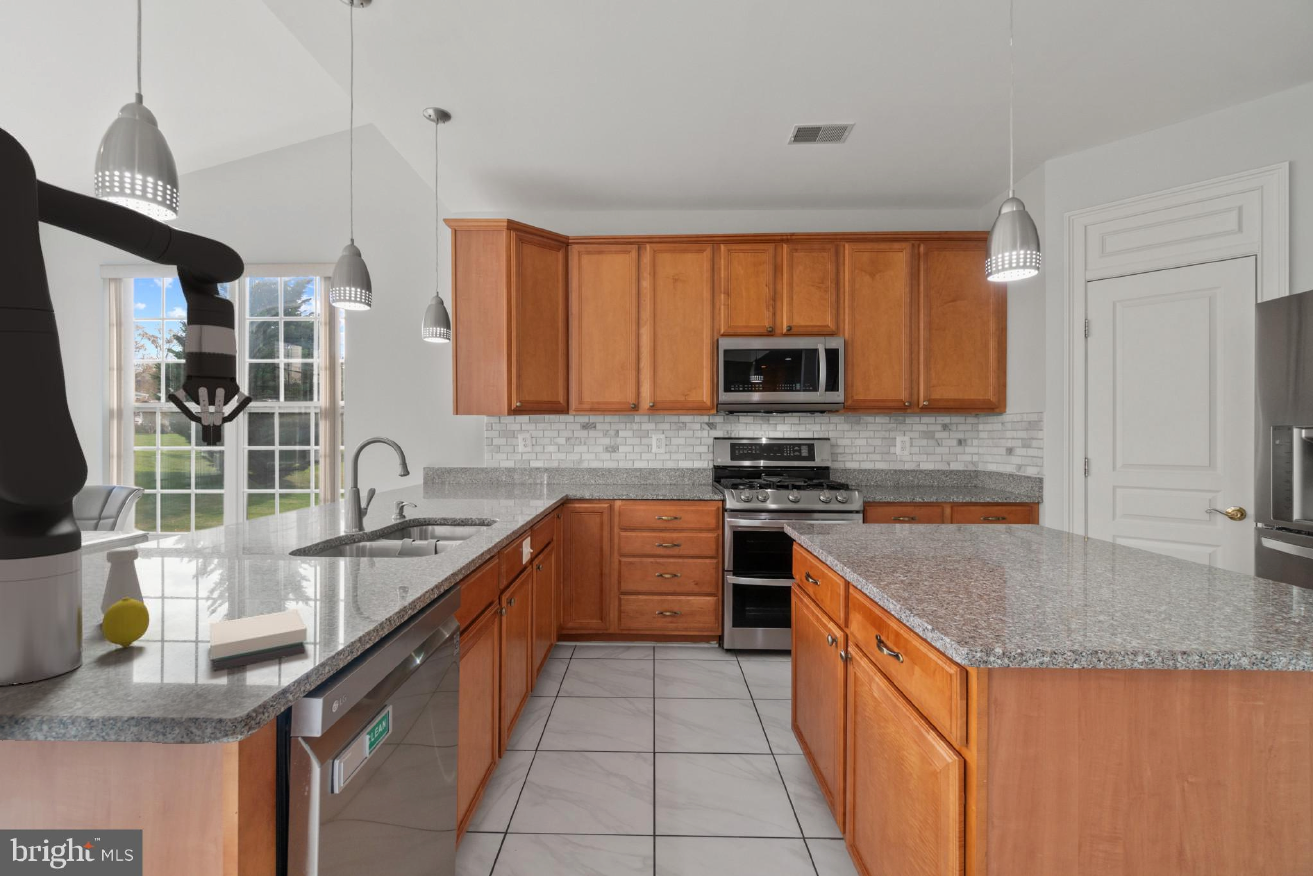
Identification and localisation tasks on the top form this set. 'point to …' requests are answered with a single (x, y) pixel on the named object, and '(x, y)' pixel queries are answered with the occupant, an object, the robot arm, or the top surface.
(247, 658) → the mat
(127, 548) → the salt shaker
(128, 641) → the lemon
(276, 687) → the top surface
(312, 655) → the top surface
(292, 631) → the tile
